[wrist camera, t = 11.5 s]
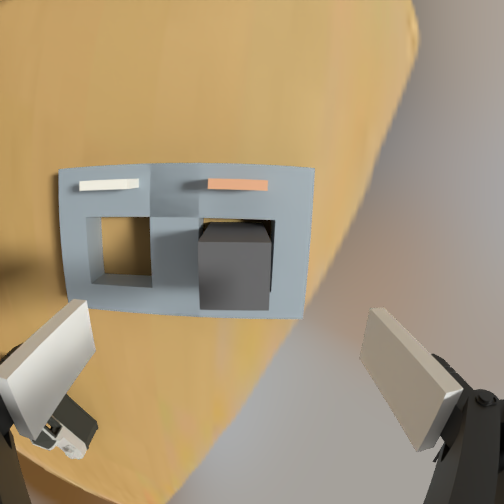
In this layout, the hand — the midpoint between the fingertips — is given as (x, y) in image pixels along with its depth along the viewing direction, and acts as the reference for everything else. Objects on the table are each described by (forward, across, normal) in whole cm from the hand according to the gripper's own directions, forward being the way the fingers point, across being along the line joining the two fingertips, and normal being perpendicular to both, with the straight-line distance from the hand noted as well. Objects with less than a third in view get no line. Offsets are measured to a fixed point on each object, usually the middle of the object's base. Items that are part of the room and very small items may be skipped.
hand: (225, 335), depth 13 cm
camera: (+19, -27, -24) cm, 41 cm away
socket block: (+19, -5, +1) cm, 19 cm away
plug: (+19, 0, 0) cm, 19 cm away
